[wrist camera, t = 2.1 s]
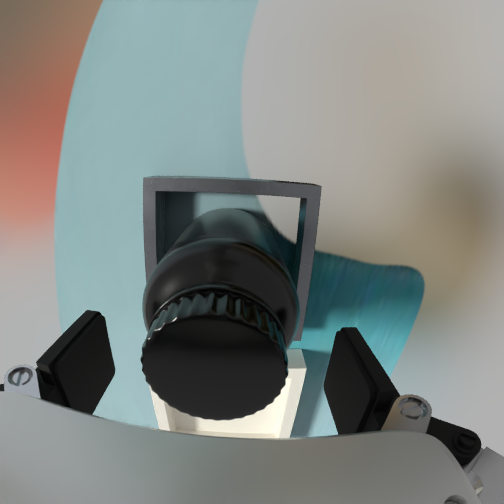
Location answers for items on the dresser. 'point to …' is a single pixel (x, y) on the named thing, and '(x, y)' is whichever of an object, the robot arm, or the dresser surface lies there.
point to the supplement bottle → (220, 318)
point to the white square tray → (252, 426)
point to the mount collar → (305, 191)
